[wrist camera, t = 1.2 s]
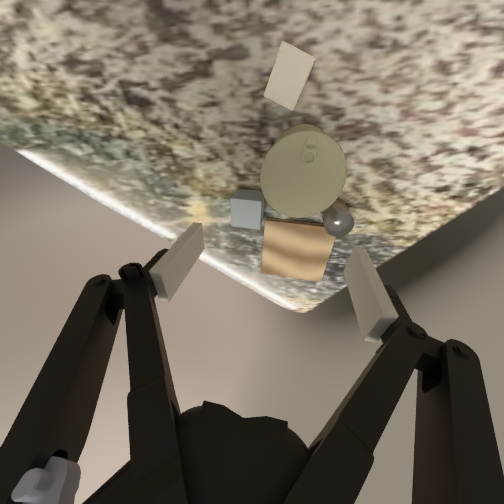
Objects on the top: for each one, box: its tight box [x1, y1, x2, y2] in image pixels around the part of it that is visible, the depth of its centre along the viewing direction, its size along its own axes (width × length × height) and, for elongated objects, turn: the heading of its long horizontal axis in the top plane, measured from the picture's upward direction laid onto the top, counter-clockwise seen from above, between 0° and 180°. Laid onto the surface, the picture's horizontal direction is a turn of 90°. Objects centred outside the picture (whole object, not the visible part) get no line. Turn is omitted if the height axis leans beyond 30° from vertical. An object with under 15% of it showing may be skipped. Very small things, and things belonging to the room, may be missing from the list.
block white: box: [264, 40, 316, 111], centre depth 24 cm, size 5×4×4 cm
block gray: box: [230, 189, 265, 230], centre depth 34 cm, size 5×5×5 cm
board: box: [261, 218, 335, 282], centre depth 40 cm, size 13×13×1 cm
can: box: [260, 124, 347, 218], centre depth 26 cm, size 9×9×12 cm
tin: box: [321, 198, 354, 237], centre depth 31 cm, size 4×4×6 cm
